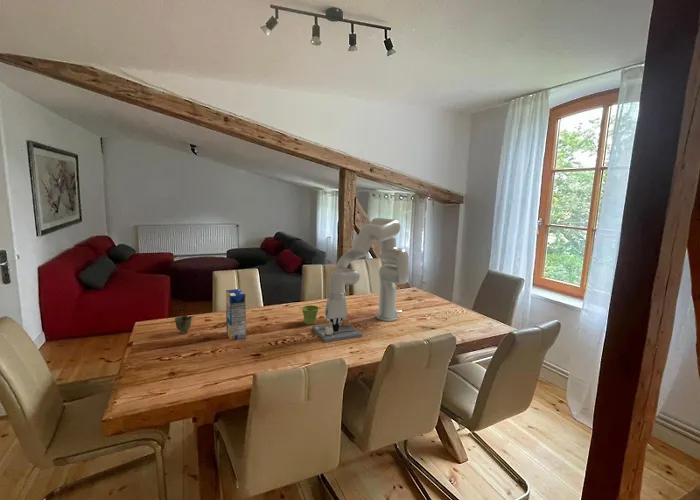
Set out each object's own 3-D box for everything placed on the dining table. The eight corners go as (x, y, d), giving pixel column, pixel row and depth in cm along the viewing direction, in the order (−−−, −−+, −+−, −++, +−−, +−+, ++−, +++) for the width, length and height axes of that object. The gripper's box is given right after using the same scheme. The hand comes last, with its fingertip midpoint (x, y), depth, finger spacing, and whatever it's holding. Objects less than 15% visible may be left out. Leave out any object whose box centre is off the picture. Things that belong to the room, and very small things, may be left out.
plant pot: (315, 326, 198) (316, 311, 197) (298, 325, 200) (299, 309, 198) (320, 321, 207) (321, 306, 206) (304, 319, 209) (304, 304, 208)
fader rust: (347, 323, 199) (347, 317, 199) (349, 325, 197) (349, 318, 196) (342, 324, 198) (342, 318, 197) (344, 326, 196) (344, 319, 195)
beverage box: (231, 340, 176) (231, 296, 172) (226, 332, 185) (226, 290, 182) (245, 338, 179) (245, 294, 176) (240, 330, 189) (240, 288, 185)
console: (346, 324, 204) (346, 320, 203) (361, 336, 188) (362, 331, 187) (312, 329, 195) (312, 324, 194) (325, 342, 179) (325, 337, 178)
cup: (195, 331, 185) (194, 316, 184) (184, 336, 178) (183, 321, 177) (183, 329, 187) (182, 314, 186) (172, 334, 180) (171, 318, 179)
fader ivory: (330, 332, 186) (330, 325, 186) (332, 334, 184) (332, 327, 184) (325, 333, 185) (325, 326, 184) (327, 335, 183) (327, 328, 182)
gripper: (347, 292, 190) (345, 326, 193) (319, 294, 183) (318, 330, 186) (353, 296, 183) (352, 331, 186) (325, 299, 176) (324, 335, 179)
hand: (335, 330), depth 186 cm, fingers closed
